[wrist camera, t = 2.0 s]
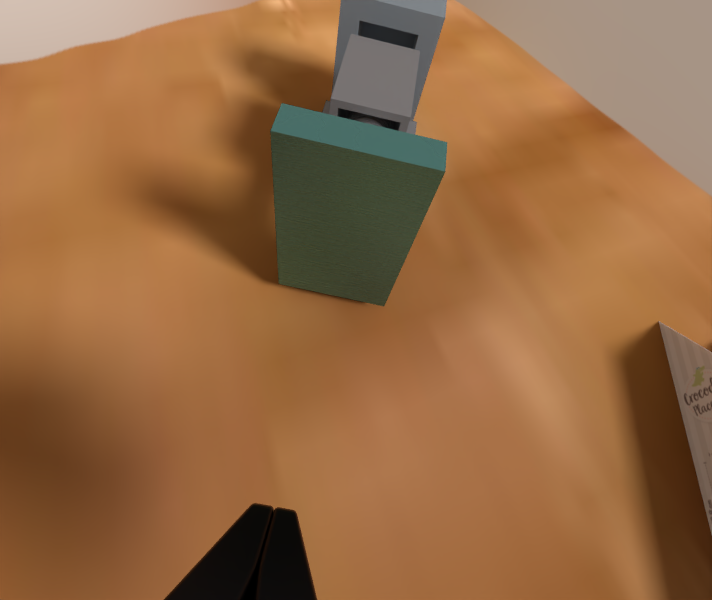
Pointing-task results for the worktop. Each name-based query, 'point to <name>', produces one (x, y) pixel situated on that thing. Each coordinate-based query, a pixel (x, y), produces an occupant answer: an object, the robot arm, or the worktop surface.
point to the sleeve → (376, 82)
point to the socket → (393, 30)
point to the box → (694, 403)
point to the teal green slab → (348, 200)
